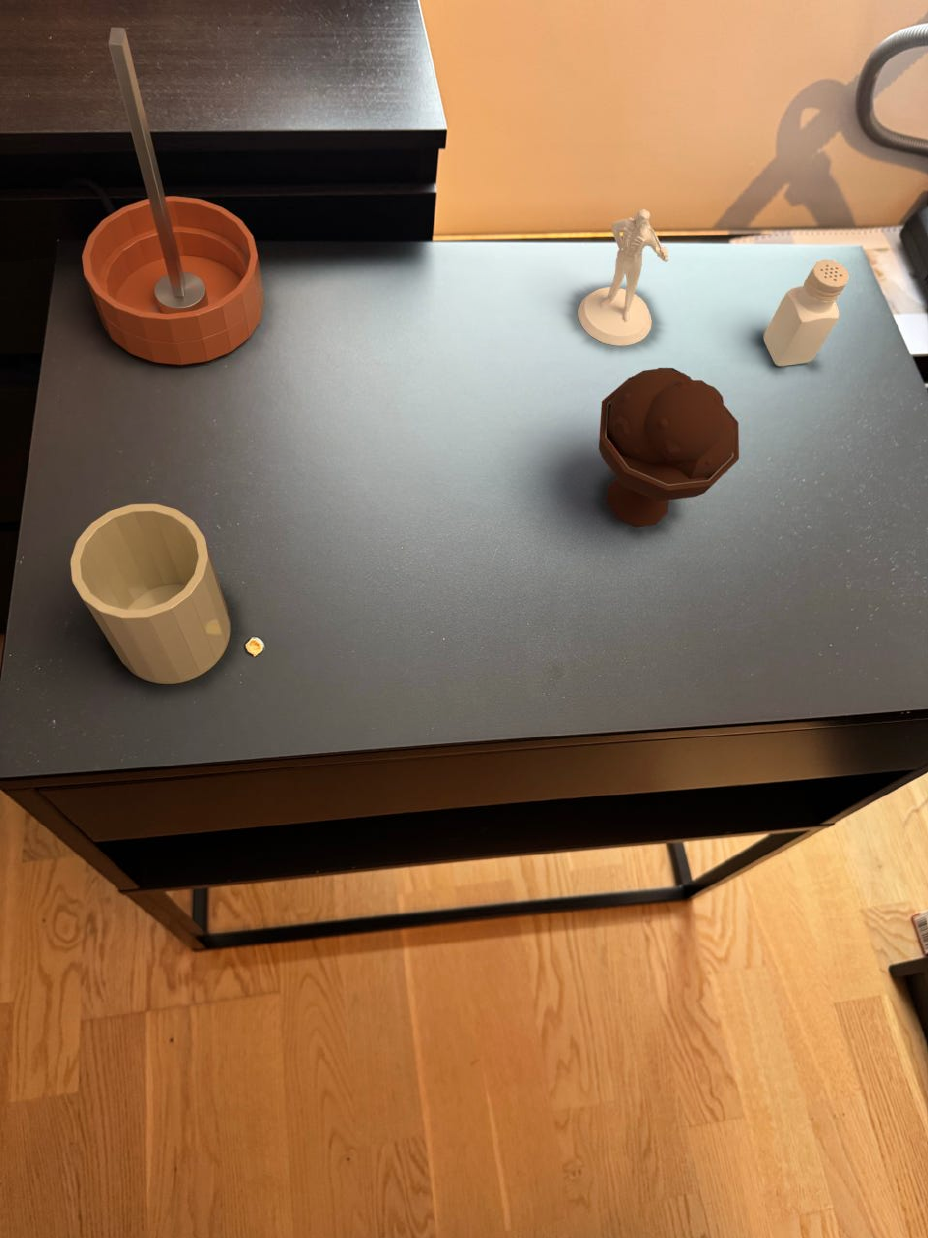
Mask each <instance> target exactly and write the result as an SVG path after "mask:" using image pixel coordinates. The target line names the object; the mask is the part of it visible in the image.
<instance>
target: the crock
mask: <svg viewBox="0 0 928 1238" xmlns="http://www.w3.org/2000/svg"><path fill="white" fill-rule="evenodd" d="M69 563H70V572H71V581H72V584H73V585H74V587H75V589H76V591H77V592H78V594H79V596H80V598H81V599H82V601H83V602H84V604H85V606H86V607H87V609H88V610H89V612H90V614H91V615H92V617H93V619H94V620H95V622H96V624H97V625H98V627H99V628H100V630H101V631H102V633H103V634H104V636H105V637H106V639H107V641H108V642H109V645H110V646H111V647H112V649H113V651H114V652H115V654H116V655H117V657H118V659H119V661H121V663H122V664H123V665H124V667H125V668H126V669H127V670H128V671H130V672H131V673H132V674H133V675H135V676H136V677H138V678H140V679H142V680H144V681H147V682H150V683H155V684H162V685H174V684H181V683H184V682H188V681H191V680H193V679H196V678H198V677H200V676H202V675H203V674H205V673H207V672H208V671H209V670H211V669H212V668H213V667H214V666H216V664H217V663H218V661H220V659H221V658H222V656H223V655H224V654H225V652H226V649H227V647H228V645H229V642H230V637H231V631H232V627H231V620H230V619H231V618H230V614H229V610H228V606H227V603H226V600H225V597H224V594H223V591H222V588H221V585H220V580H219V578H218V575H217V572H216V568H215V566H214V563H213V559H212V556H211V553H210V550H209V547H208V544H207V540H206V537H205V535H203V532H202V531H201V529H200V527H198V525H197V524H196V523H195V521H194V520H193V519H191V518H190V517H189V516H187V515H186V514H184V513H182V512H181V511H180V510H179V509H176V508H173V507H169V506H165V505H162V504H159V503H131V504H127V505H125V506H121V507H117V508H115V509H112V510H110V511H107V512H105V514H103V515H102V516H100V517H99V518H97V519H96V520H94V521H92V522H91V523H90V524H89V525H88V526H87V527H86V529H85V530H84V531H83V532H82V534H81V535H80V536H79V538H78V539H77V541H76V542H75V545H74V549H73V551H72V554H71V557H70V561H69Z"/></svg>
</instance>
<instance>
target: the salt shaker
mask: <svg viewBox="0 0 928 1238" xmlns="http://www.w3.org/2000/svg"><path fill="white" fill-rule="evenodd" d="M849 280H850V275H849V272H848V270H847V269H846V267H845V266H844V265H843V264H841V263H840V262H837V261H835V260H830V259H821V260H820V261H816V263H814V265H813V267H812V268H811V270H810V272H809V273H808V276H807V277H806V279H805V280H804V283H803V285H801V286H796V287H793V288H790V289H789V290H788V291H786V292H785V294H784V296H783V298H782V299H781V301H780V303H779V305H778V306H777V309H776V311H775V313H774V314H773V316H772V318H771V320H770V322H769V324H768V326H767V328H766V330H765V331H764V332H763V342H764V344H765V347H766V348H767V350H768V352H769V354H770V356H771V357H770V358H771V359H772V361H773V363H774V364H775V365H776V366H777V367H786V366H793V365H800V364H808V363H810V362H812V361H813V360H814V359H815V357H816V355H817V354H818V352H819V351H820V350H821V348H822V346H823V345H824V344H825V341H826V340H827V339H828V336H829V335H830V333H831V331H832V330H833V329H834V327H835V326H836V324H837V323H838V321H839V318H840V311H839V307H838V304H837V302H836V301H837V300H839V298H840V295H841V293H842V292H843V290H844V288H845V287H846V285H847V284H848V282H849Z"/></svg>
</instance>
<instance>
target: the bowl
mask: <svg viewBox="0 0 928 1238" xmlns="http://www.w3.org/2000/svg"><path fill="white" fill-rule="evenodd" d="M165 199H166V203H167V207H168V211H169V215H170V220H171V224H172V228H173V232H174V236H175V240H176V245H177V249H178V253H179V257H180V261H181V265H182V270H183V272H189V273H192V274H195V275H197V276H198V277H199V278H200V279H201V280H202V281H203V282H204V284H205V288H206V293H207V297H208V306H206V307H203V308H200V309H198V310H195V311H189V312H181V313H173V314H162V313H161V312H160V310H159V308H158V305H157V301H156V298H155V294H154V288H155V285H156V283H157V281H158V280H159V279H160V278H162V277H163V276H165V275H167V274H168V272H167V268H166V264H165V260H164V256H163V252H162V249H161V245H160V241H159V237H158V233H157V229H156V225H155V221H154V218H153V214H152V210H151V206H150V202H149V198H147V199H143V200H140V201H137V202H135V203H131V204H128V205H125V206H122V207H121V208H119V209H118V210H116V211H114V212H113V213H112V214H109V215H108V216H107V217H105V218H104V219H103V220H101V221H100V223H98V225H97V226H96V227H95V228H94V229H93V230H92V231H91V233H90V234H89V235H88V237H87V240H86V243H85V246H84V249H83V252H82V255H81V256H82V257H81V258H82V264H83V265H82V266H83V275H84V278H85V281H86V283H87V286H88V288H89V292H90V294H91V297H92V299H93V302H94V305H95V308H96V311H97V313H98V317H99V318H100V319H99V320H100V322H101V323H102V326H103V327H104V328H105V330H106V332H107V334H108V335H109V336H110V338H111V340H112V341H113V342H114V343H116V344H117V345H118V346H120V347H121V348H122V349H123V350H125V351H126V352H128V353H129V354H130V355H133V356H136V357H139V358H141V359H144V360H147V361H149V362H152V363H158V364H166V365H177V366H183V365H184V366H185V365H192V364H197V363H206V362H209V361H212V360H214V359H217V358H219V357H222V356H224V355H227V354H229V353H231V352H232V351H234V350H236V349H237V348H238V347H239V346H241V345H242V344H243V343H244V342H246V341H247V340H248V339H250V337H251V336H252V335H253V333H254V331H255V330H256V329H257V327H258V326H259V325H260V323H261V321H262V317H263V311H264V307H265V294H264V288H263V281H262V275H261V267H260V266H261V265H260V260H259V253H258V250H257V249H258V248H257V246H256V241H255V237H254V235H253V234H252V232H251V231H250V230H249V228H248V227H247V225H245V223H244V221H243V220H242V219H240V218H239V217H238V216H237V215H235V214H233V213H232V212H230V211H229V210H228V209H226V208H224V207H223V206H220V205H217V204H214V203H212V202H209V201H206V200H204V199H201V198H193V197H185V196H176V195H174V196H173V195H172V196H165Z"/></svg>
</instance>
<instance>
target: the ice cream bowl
mask: <svg viewBox="0 0 928 1238" xmlns="http://www.w3.org/2000/svg"><path fill="white" fill-rule="evenodd" d="M600 409H601V411H600V422H599V424H600V425H599V437H598V438H599V440H598V450H599V453H600V456H601V459H602V460H603V461H604V463H605V464H606V465H607V466H608V468H609V469H610V471H611V472H612V474H613V475H614V476H615V479H613V480H612V481H611V482H610V483H609V484H608V485H607V486H606V501H605V504H606V505H607V507H608V508H609V510H610V511H611V512H612V513H613V515H614V516H615V518H616V519H617V520H619V521H621V522H624V523H626V524H628V525H631V526H632V527H635V528H640V527H647V526H656V525H657V524H658V523H659V522H660V521H661V520H662V519H663V518H664V517H665V516H666V515H667V514H668V513H669V501H674V500H683V499H692V498H696V497H699V496H701V495H704V494H705V493H706V492H708V490H709V489H711V487H713V486H714V485H715V484H716V482H718V481H719V480H720V479H721V478H722V477H723V476H724V475H725V474H726V473H727V472H728V471H729V470H730V469H731V468H732V467H733V466H734V465H735V464H736V463H737V462H738V461H739V459H740V434H739V430H740V429H739V422H738V420H737V419H736V418H735V416H733V414H732V413H731V411H729V409H728V408H727V407H726V405H725V401H724V396H723V395H722V394H721V393H720V391H719V390H718V389H717V388H716V387H715V386H713V385H710V384H707V383H706V382H705V381H704V380H702V379H692V377H691V376H689V375H687V374H686V373H684V372H681V371H680V370H677V369H676V368H673V367H658V368H653V369H646V370H641V371H639V372H638V373H637V374H635V375H632V376H630V377H628V378H627V379H626V380H625V381H624V382H623V383H621V384H620V385H619V386H618V387H617V388H616V389H614V390H613V391H612V392H610V394H609V395H607V396H606V397H605V398H604V399H603V400H602V401H601V408H600Z"/></svg>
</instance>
